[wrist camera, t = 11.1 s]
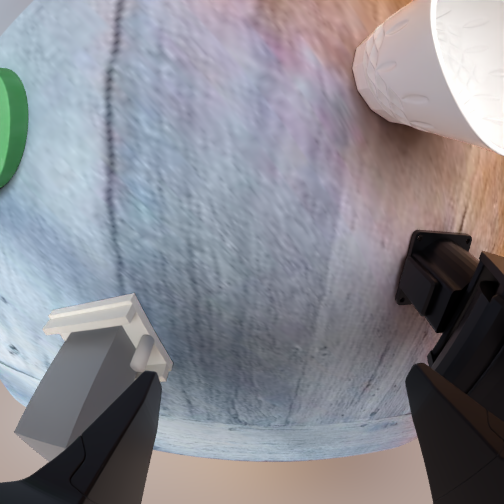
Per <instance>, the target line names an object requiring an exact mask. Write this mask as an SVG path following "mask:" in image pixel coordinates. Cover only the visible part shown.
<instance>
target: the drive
mask: <svg viewBox="0 0 504 504" xmlns="http://www.w3.org/2000/svg"><path fill="white" fill-rule="evenodd" d="M135 351H136V348H135V346H134V345H133V343H132V341H131V340H130V338H129V337H128V335H127V333H126V332H125V330H124V328H123V326H122V325H120V326H113V327H106V328H99V329H92V330H85V331H77V332H71V333H70V335H69V336H68V338H67V339H66V341H65V343H64V344H63V346H62V347H61V349H60V350H59V352H58V354H57V355H56V357H55V358H54V360H53V362H52V363H51V365H50V367H49V368H48V370H47V372H46V373H45V375H44V377H43V378H42V380H41V382H40V384H39V385H38V387H37V389H36V391H35V393H34V394H33V396H32V398H31V400H30V402H29V404H28V405H27V407H26V409H25V411H24V413H23V415H22V417H21V419H20V421H19V423H18V426H17V427H16V429H15V431H14V433H16V435H18V436H19V437H20V438H21V439H22V440H23V441H24V442H25V443H27V444H28V445H29V446H30V447H31V448H33V449H34V450H35V451H36V452H37V453H39V454H40V455H41V456H42V457H44V458H45V459H46V460H48V461H49V462H50V461H51V460H53V459H54V458H55V457H56V456H58V455H59V454H60V453H61V452H63V451H64V450H65V449H66V448H67V447H68V446H69V445H70V444H71V443H72V442H73V441H74V440H75V439H76V438H78V437H79V436H80V435H81V434H82V433H83V432H84V431H85V430H86V429H87V428H88V427H89V426H90V425H91V424H92V423H93V422H94V421H95V420H96V419H97V418H98V417H99V416H100V415H101V414H102V413H103V412H104V411H105V410H106V409H107V408H108V407H109V406H110V405H111V404H112V403H113V402H114V401H115V400H116V399H117V398H118V397H119V396H120V395H121V394H122V393H123V392H124V391H125V390H126V389H127V388H128V387H129V386H130V385H131V384H132V383H133V382H134V380H135V377H136V374H137V372H136V371H134V370H133V369H132V368H131V367H130V363H131V361H132V358H133V356H134V353H135Z"/></svg>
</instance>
